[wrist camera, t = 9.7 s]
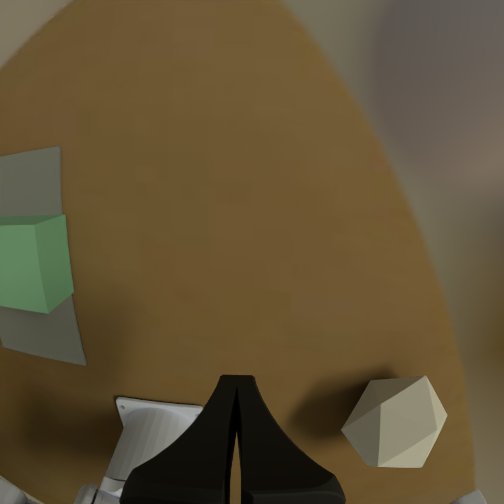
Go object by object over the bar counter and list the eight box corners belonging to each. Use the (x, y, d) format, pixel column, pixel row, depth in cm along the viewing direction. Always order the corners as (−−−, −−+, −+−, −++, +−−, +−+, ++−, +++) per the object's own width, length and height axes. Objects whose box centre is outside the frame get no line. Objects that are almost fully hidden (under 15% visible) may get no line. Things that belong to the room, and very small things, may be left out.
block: (48, 313, 18) (-29, 300, 17) (74, 291, 21) (-2, 283, 21) (34, 224, 16) (-42, 227, 16) (65, 214, 20) (-11, 217, 20)
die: (317, 414, 26) (361, 497, 20) (350, 378, 20) (413, 488, 14) (383, 380, 29) (426, 453, 23) (425, 338, 23) (482, 426, 17)
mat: (87, 364, 23) (86, 365, 23) (4, 346, 23) (3, 347, 23) (60, 146, 19) (59, 146, 19) (-26, 162, 18) (-27, 162, 18)
